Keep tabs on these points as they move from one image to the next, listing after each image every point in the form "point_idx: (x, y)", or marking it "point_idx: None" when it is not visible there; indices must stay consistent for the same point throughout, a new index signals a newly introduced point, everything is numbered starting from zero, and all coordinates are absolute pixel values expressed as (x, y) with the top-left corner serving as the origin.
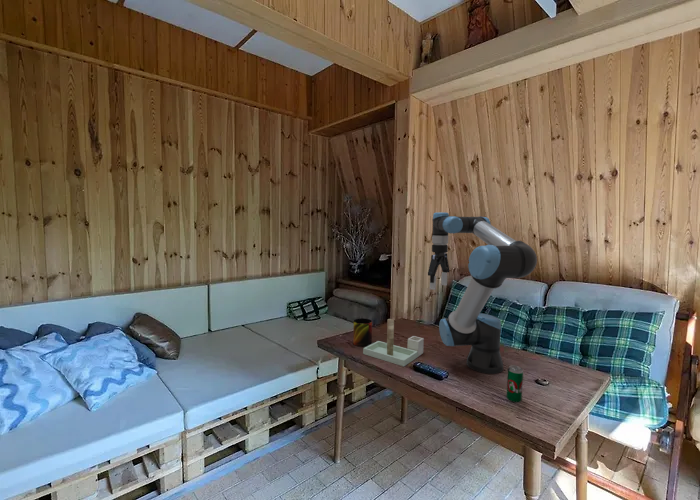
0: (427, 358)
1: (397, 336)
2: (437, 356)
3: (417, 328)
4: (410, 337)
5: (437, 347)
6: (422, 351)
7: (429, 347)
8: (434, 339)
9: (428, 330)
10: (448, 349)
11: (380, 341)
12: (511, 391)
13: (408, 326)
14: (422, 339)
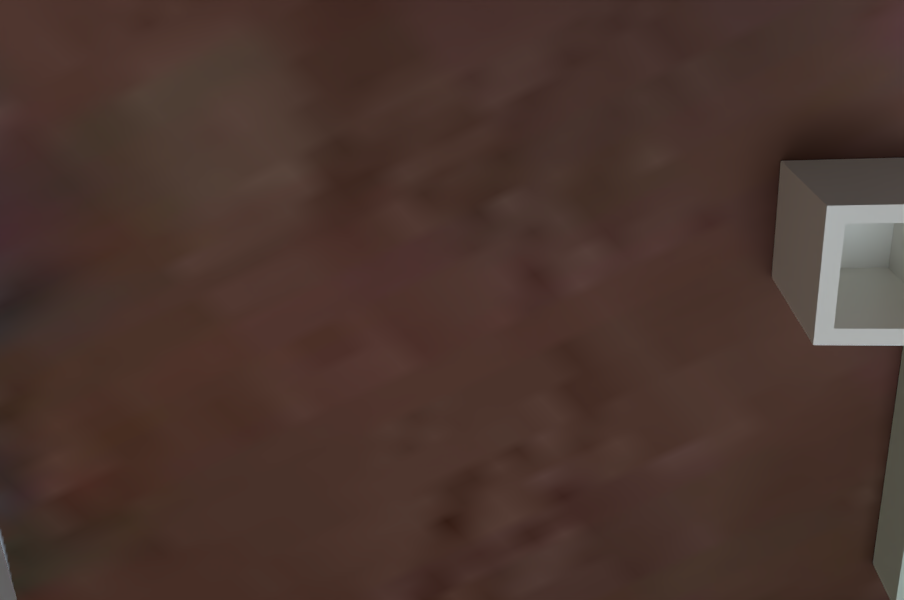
0: (856, 76)
1: (489, 557)
2: (736, 17)
3: (159, 513)
4: (891, 344)
5: (492, 135)
6: (811, 168)
7: (549, 200)
8: (305, 260)
9: (124, 413)
10: (465, 16)
11: (902, 585)
12: None
13: (177, 595)
14: (864, 203)
